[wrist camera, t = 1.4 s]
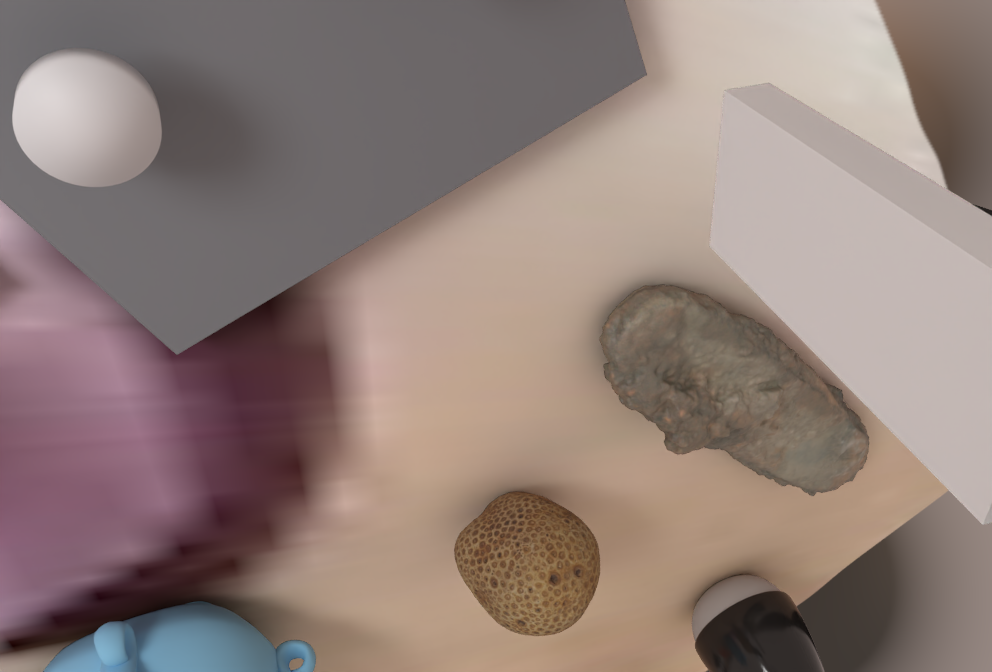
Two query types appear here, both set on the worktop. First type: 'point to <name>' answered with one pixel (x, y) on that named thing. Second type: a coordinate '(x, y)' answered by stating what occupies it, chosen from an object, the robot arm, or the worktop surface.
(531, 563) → the brown round lump
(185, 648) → the decorative pot
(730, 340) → the long grey stone
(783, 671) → the pump dispenser
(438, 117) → the boss board
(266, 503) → the worktop surface
